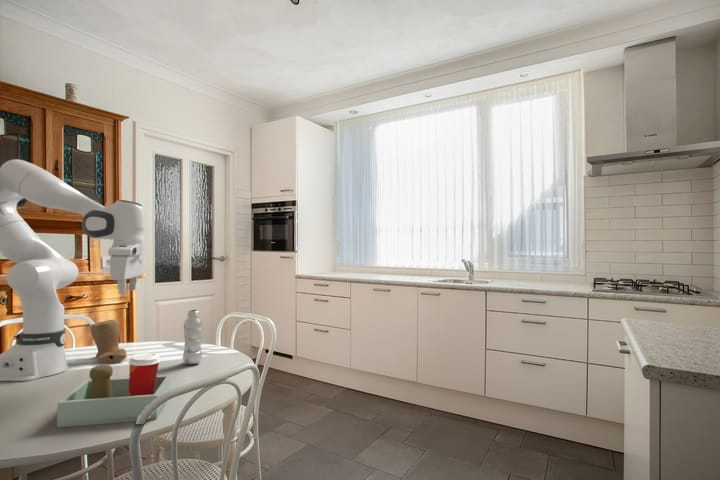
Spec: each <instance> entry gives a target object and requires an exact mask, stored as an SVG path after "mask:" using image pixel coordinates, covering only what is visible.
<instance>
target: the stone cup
mask: <svg viewBox="0 0 720 480" xmlns="http://www.w3.org/2000/svg"><path fill="white" fill-rule="evenodd" d="M90 332H91V337H92V339H93V340H94V343H95V345H96V349H97V353H96V355H95V358H96V361H97V362H99V363H106V364H113V363H117V362H121V361H123V360H125V359H126V358H128V355H127V351H126V349H125V348H120V346H119V343H120V336H121V326H120V321H119V320H118V319H110V320H106V321H105V320H104V321H99V322H95V323H92V324H91V325H90Z"/></svg>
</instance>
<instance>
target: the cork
mask: <svg viewBox="0 0 720 480" xmlns="http://www.w3.org/2000/svg"><path fill="white" fill-rule="evenodd" d="M113 371H114V370H113V367H112V366H111V365H110V364H100V365H96V366H95V365H94V367H92V368H91V370H90V371H89V378H90V380H92V383H91V388H90V394H89V399H97V398H111V397H113V396H112V388H111V380H110V379H111V377H112V376H113Z"/></svg>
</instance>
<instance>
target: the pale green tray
mask: <svg viewBox="0 0 720 480" xmlns="http://www.w3.org/2000/svg"><path fill="white" fill-rule="evenodd" d="M110 380H111V388H112V396H113V397H111V398H97V399H89V394H90V388H91V383H92V379H87V380H85V381H84V382H82V383H81V384H80V385H78V386H77V387H76V388H75V389H73V390H72V391H71V392H70V393H68V394H67V395H66V396H64V397H63V398H62V399H61V400H59V401H58V402H57V406H56V407H57V408H56V409H57V410H56V412H57V415H56V428H68V427H70V428H71V427H80V426H93V425H103V424H113V423H116V424H117V423H125V422H126V423H128V422H137V421H136V420H137V418H138V416H139V415H140V414H141V413H142V411H143V410H144V409H145V407H146V406H147V405H149V404H150V403H151V402H152V401H153V400H154V399H156V398H157V397H158V396H159V395H161V394H162V393H164V392H165V391H167V390H169V389H171V388H172V375H171V374H168V375H157V378H156V384H155V390H154V394H153V395H139V396H129V377H122V378H121V377H118V378H110ZM171 390H172V389H171ZM166 404H167V402H166V403H165V404H163V405H161V406H160V407H159V408H157V409H156V410H155V412H154V413H153V414H152V415H151V417H150V418H149V420H148V421H150V420H157V419H158V417H159V416H160V414H161V413H162V411H163V409H164V407H165V405H166Z"/></svg>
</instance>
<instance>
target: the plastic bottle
mask: <svg viewBox="0 0 720 480" xmlns="http://www.w3.org/2000/svg"><path fill="white" fill-rule="evenodd" d="M199 313H200V310H199V309H189V310H188V311H187V316H188V317H187V319H185V321H184V322H183V325H182V326H183V331H184V332H183V333H184V347H183V348H184V349H183V354H182V361H183V363H184V364H185V365H195V364H200V363H201V361H202V358H203V355H202V354H203V353H202V346H201V338H202V336H201V335H202V329H203V322H202V320H201V319H200V317H199V315H200V314H199Z"/></svg>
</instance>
